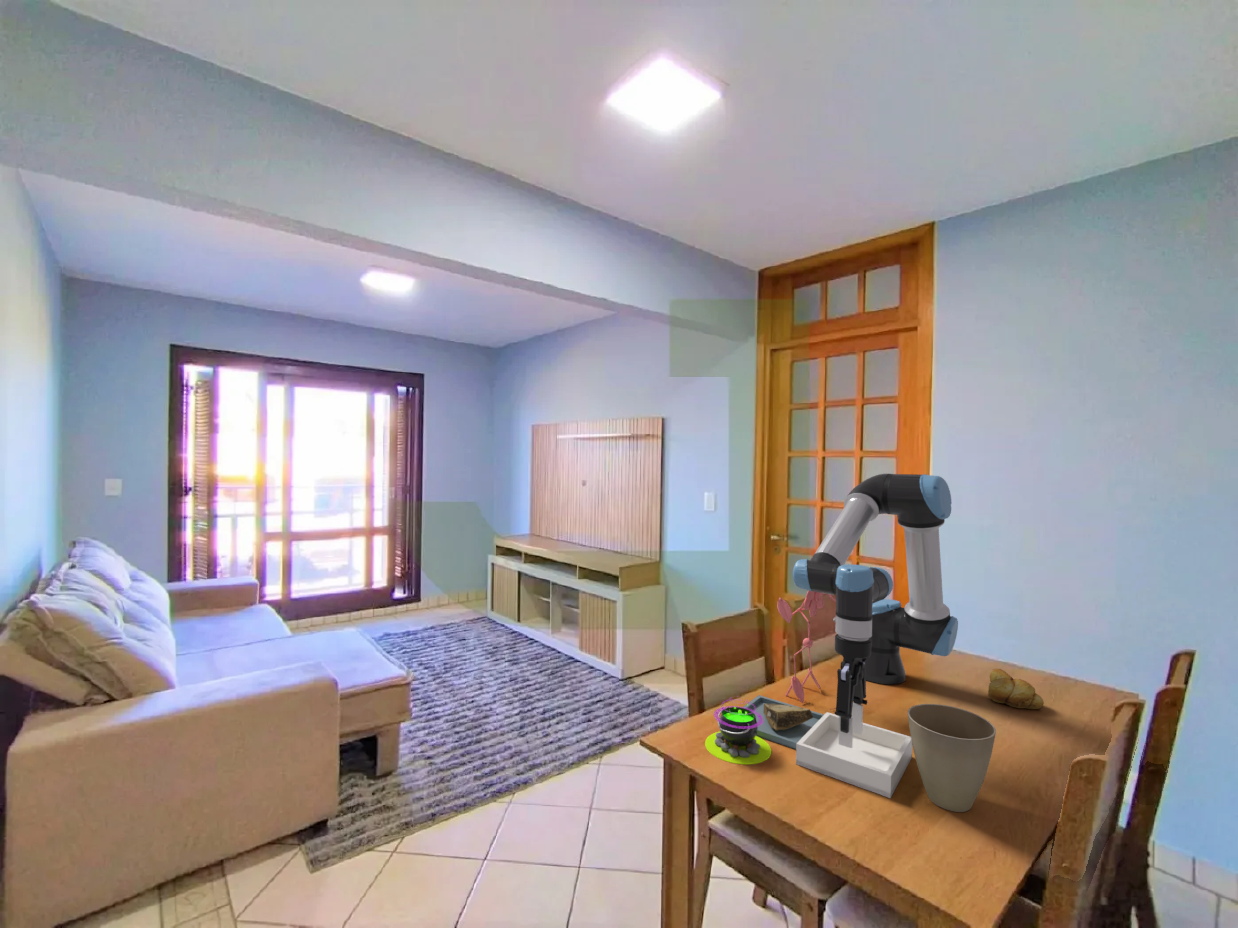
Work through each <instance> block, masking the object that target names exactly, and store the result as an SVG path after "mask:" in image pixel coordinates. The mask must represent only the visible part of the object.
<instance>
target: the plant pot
mask: <svg viewBox="0 0 1238 928" xmlns="http://www.w3.org/2000/svg"><path fill="white" fill-rule="evenodd" d="M907 721H908V726H909V727H908V728H909V733H910V737H911V740H912V751H913V753H914V757H915V761H916V765H917V768H918V771H919V775H920V778H921V781H922V784H923V787H924V789H925V792H926V794H927V798H928V799H929V800H930V801H931V802H932V803H933V804H935V805H936V806H938V807H940V808H942V809H944V810H947V811H949V812H956V813H964V812H967V811H970V810H971V809H972V807H973V804H974V803H975V801H976V799H977V797H978V794H980V793H979V792H980V790H981V788H982V785H983V784H984V781H985V778H986V774H987V771H988V768H989V765H990V761H991V758H992V753H993V749H994V743H995V738H996V734H997V730H996V727H995V725H994V724H992V723H991V722H990V721H988V720H987V719H986V718H984V717H982V716H980V715H979V714H976V713H974V712H972V711H969V710H967V709H963V708H960V707H956V706H950V705H946V704H939V703H938V704H937V703H920V704H915V705H912V706H910V707H909V708H908V710H907Z"/></svg>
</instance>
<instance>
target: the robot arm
mask: <svg viewBox="0 0 1238 928" xmlns="http://www.w3.org/2000/svg"><path fill="white" fill-rule="evenodd" d="M950 490H951V489H950V487H949V485H948V482H947V481H946V480H945V478H943V477H942V476H940V475H933V474H932V475H931V474H927V473H926V474H925V473H924V474H916V473H915V474H913V473H911V474H907V473H905V474H903V473H879V474H876V475H874V476H871V477H868V478H867V479H865V480H862V481H861V482H860V483H859V484H857V485H856V486H855V487H854V488H852V489H851V490H850V492H849V493H848V494H847V496H846V497H845V498H844V502H843V509H842V511H841V512H840V513H839V515H838V517H837V518H836V520H835V522H834V523H833V525H832V526H831V528H830V529H829V530H828V532H827V533H826V536H825V537H824V538H823V540H822V541H821V543H820V545H819V546H818V548H817V549H816V551H815V552H814V554H813V555H812V556H811V558H810V559H808V558H804V559H798V560H797V561H796V562H795V563H794V566H793V569H792V580H793V583H794V585H795V586H796V587H797V588H798V589H802V590H805V591H807V592H808V591H811V592H812V591H813V592H819V593H823V594H825V595H827V594H831V595H832V596H835V600H836V602H835V616H834V617H833V618H832V619H833V620H832V621H833V622H834V623H835V626H834V627H835V628H834V629H835V633H836V634H835V635H834V651H835V652H836V653H837V654H838V655H841V656H842V661H841V662H840V668H838V669H837V671H836V673H837V686H836V687H837V689H836V704H835V708H836V709H835V711H834V714H835V715H837V716H839V742H838V744H840V745H843V746H846V747H849V748H852V742H853V733H857V734H860V735H862V727H863V723H864V720H863V719H864V712H863V711H864V705H867V704H868V700H867V699H866V698H867V692H866V691H867V682H872V683H875V684H883V685H898V684H902V683H904V682H905V681H906V670H905V667H904V663H903V660H902V657H901V653H900V652H901V651H900V650H901V648H904V649H908V650H913V651H917V652H922V653H926V654H930V655H931V656H940V657H948V656H949V655H950V654H951V653H952V651H953V650H954V646H955V643H956V640H957V635H958V629H959V621H958V618H957V617H955V616H951V612H950V608H949V606H948V605H947V604H945V603H944V595H943V579H942V562H941V559H942V558H941V546H940V545H941V544H940V527H942V526H943V525H944V524H945V520H946V519H949V518H950V516H951V513H952V494H951V491H950ZM883 514H885V515H894V516H896V518H897V524H898V525H899V526H900V527H902V528H903V529H904V543H905V555H906V557H905V558H906V570H907V584H908V597H909V601H908V602H907V603H906V604H905V606H904V607H902V603H901V601H900V600H896V599H890V598H889V599H888V598H887V597H888V596H889V595H890V594H891V593H892V591H893V588H894V581H893V578H892V576H891V574H890V573H889V572H888V571H887V570H886V569H883V568H881V567H876V566H875V567H874V566H870V567H869V566H866V565H862V564H851V563H850V564H846V562H847V561H848V559H849V557H850V556H851V554H852V552H853V551H854V549H855V547H856V545H857V544H858V542H859V540H860V539H861V536H862V535H863V534H864V532H865V530H866V528H867V527H868V525H869V523H870V522H872V521H874V520H875V519H876V518H877V517H878V516H879V515H883Z"/></svg>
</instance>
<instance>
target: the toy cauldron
mask: <svg viewBox="0 0 1238 928" xmlns="http://www.w3.org/2000/svg"><path fill="white" fill-rule="evenodd" d="M736 697H738V695H737V696H736ZM736 700H737V699H733V698H732V703H733V704H735V701H736ZM728 701H731V698H729V699H726V700H725V701H723V702H722V703H721V705H720V706H721V707H719V708H718V709H715V711H714V712H713V716H714V719H715V720H716V721H717V725H718V727H719V731H716V732H713V733H711V734H709V735H708V736H707V737H706V739H705V741H704V746H705V749H706V750H707V751H708V752H709V754H711V755H712V756H713V757H715V758H717V759H718V760H722V761H724V762H727V763H729V764H734V765H757V764H760V763H763V762H765V761H767V760H768V759H769V758H770V757H771V755H772V749H771V746H770V745H769V743H768V742H767V740H765V739H764V738H761V737H758V736H756V734H757V728H758V725H759V726H760V725H762V724H763V722H764V721H763V722H762V718H763V716H762V717H761V716H760V715H759V714H760V713H759V714H758V713H757V712H756V711H755V710H749V709H747V708H746V707H744V706H737V705H734V706H732V705H727V706H726V705H725V706H723V704H724V703H725V702H728ZM739 701H742V699H739ZM745 703H746V704H747V706H748V703H750V701H748V700H746V701H745V702H744V703H743V702H740V703H739V702H737V704H738V705H739V704H740V705H742V704H745ZM750 704H752V703H750ZM752 705H753V704H752ZM742 707H743V708H742ZM754 707H755V706H754ZM755 708H756V707H755ZM753 712H754V713H755V714H756V713H757V714H758V715H759V716H758V715H757V714H756V715H757V716H758V718H759V719H761V720H759V721H758V722H759V724H758V723H757V721H756V717H755V714H754V713H753ZM763 719H764V718H763ZM760 721H761V723H760Z"/></svg>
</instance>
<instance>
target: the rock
mask: <svg viewBox="0 0 1238 928" xmlns="http://www.w3.org/2000/svg"><path fill="white" fill-rule="evenodd" d="M795 706H796V705H794V706H789V705H779V704H764V711H763V713H764V715H766V719H767V720H768V723H769V725H770V727H771V728H774V729H775V731H777V730H785V729H788V728H791V727H793V726H795V725H799V724H801V723H804V722H806V721H808V720H810V719H812V718H813V715H812V713H811V711H812V710H811V709H809V708H805V707H801V708H799V707H800V706H797V707H795ZM810 710H811V711H810Z"/></svg>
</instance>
